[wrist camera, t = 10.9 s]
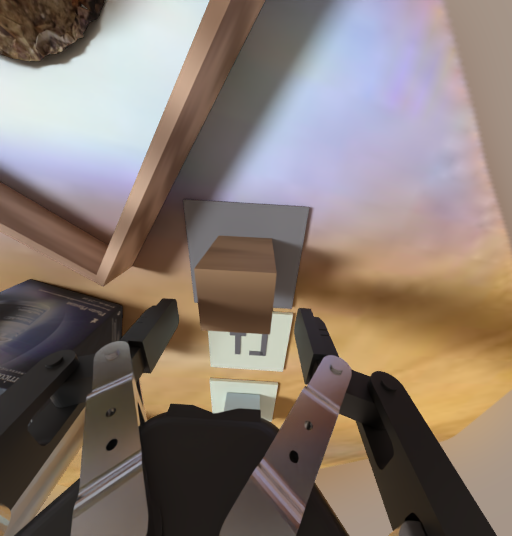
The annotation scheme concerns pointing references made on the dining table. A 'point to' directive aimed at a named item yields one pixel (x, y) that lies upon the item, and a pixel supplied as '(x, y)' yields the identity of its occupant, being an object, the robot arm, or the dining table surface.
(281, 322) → the tile
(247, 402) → the bluegrey block
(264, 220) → the rubber pad
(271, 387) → the code tile
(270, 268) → the walnut block
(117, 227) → the planter tray
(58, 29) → the cactus
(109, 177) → the dining table surface
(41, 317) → the small box
